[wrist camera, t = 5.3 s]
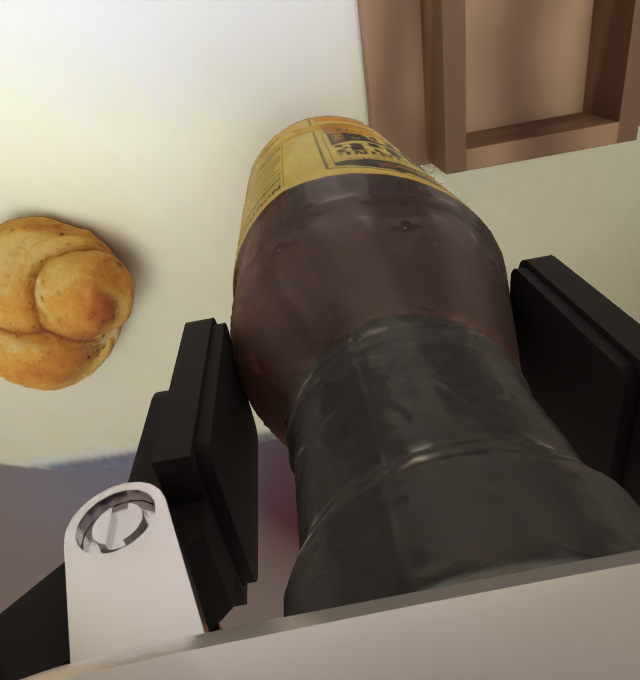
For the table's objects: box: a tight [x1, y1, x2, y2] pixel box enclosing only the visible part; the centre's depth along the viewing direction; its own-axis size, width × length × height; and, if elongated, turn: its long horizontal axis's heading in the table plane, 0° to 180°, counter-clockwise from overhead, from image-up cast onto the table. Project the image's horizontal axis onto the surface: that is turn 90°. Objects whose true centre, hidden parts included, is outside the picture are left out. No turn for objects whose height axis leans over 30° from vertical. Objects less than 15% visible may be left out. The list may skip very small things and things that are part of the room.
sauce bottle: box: [230, 116, 640, 617], centre depth 14 cm, size 7×6×20 cm
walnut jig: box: [358, 0, 640, 174], centre depth 29 cm, size 20×16×5 cm
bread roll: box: [0, 217, 135, 391], centre depth 34 cm, size 13×10×8 cm
